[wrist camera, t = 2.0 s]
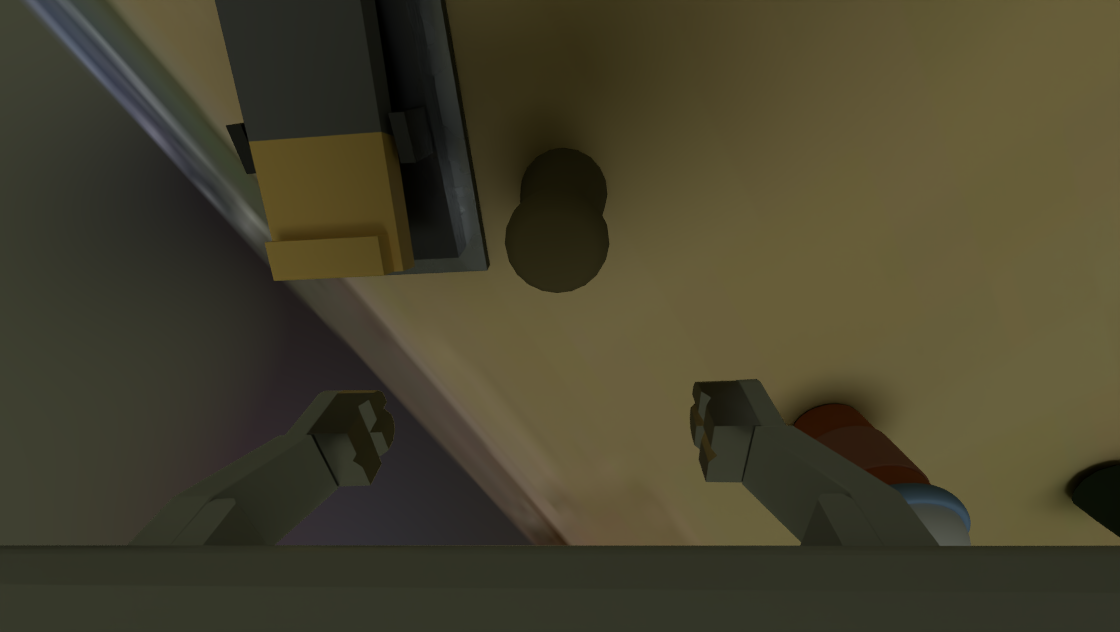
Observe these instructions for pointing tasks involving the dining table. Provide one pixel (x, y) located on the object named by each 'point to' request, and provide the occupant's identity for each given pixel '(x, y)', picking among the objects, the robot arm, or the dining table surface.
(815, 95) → the dining table surface
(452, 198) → the grey box with tabs
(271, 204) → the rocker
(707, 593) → the robot arm
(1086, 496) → the grey trophy cup
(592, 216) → the dark tall tapered piece
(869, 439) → the cup with straw
